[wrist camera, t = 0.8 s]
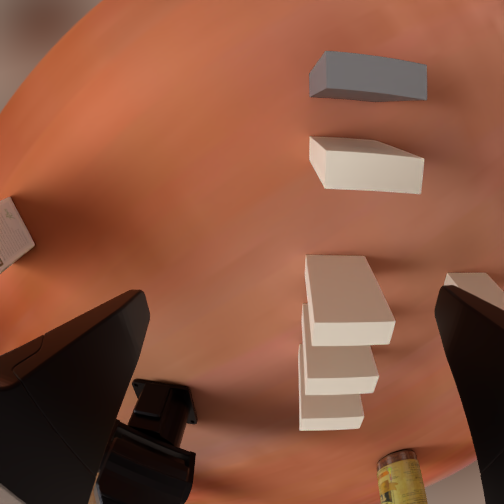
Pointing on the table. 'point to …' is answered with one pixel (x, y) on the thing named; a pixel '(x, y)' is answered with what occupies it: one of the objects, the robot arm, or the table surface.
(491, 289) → the domino
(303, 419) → the domino
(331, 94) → the domino
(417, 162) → the domino
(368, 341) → the domino
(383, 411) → the table surface
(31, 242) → the syrup box
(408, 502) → the sauce bottle
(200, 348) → the table surface
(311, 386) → the domino
